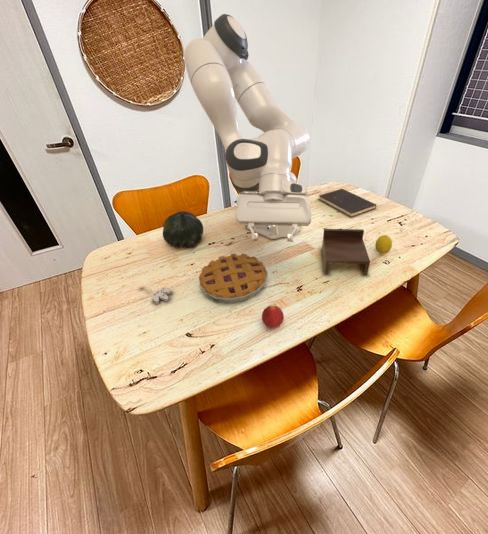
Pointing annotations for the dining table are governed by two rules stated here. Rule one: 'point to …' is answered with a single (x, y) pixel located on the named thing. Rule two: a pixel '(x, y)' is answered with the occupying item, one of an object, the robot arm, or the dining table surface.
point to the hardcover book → (347, 202)
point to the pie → (233, 278)
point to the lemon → (383, 244)
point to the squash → (182, 230)
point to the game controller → (160, 295)
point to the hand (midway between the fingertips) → (272, 240)
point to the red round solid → (272, 316)
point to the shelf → (344, 248)
